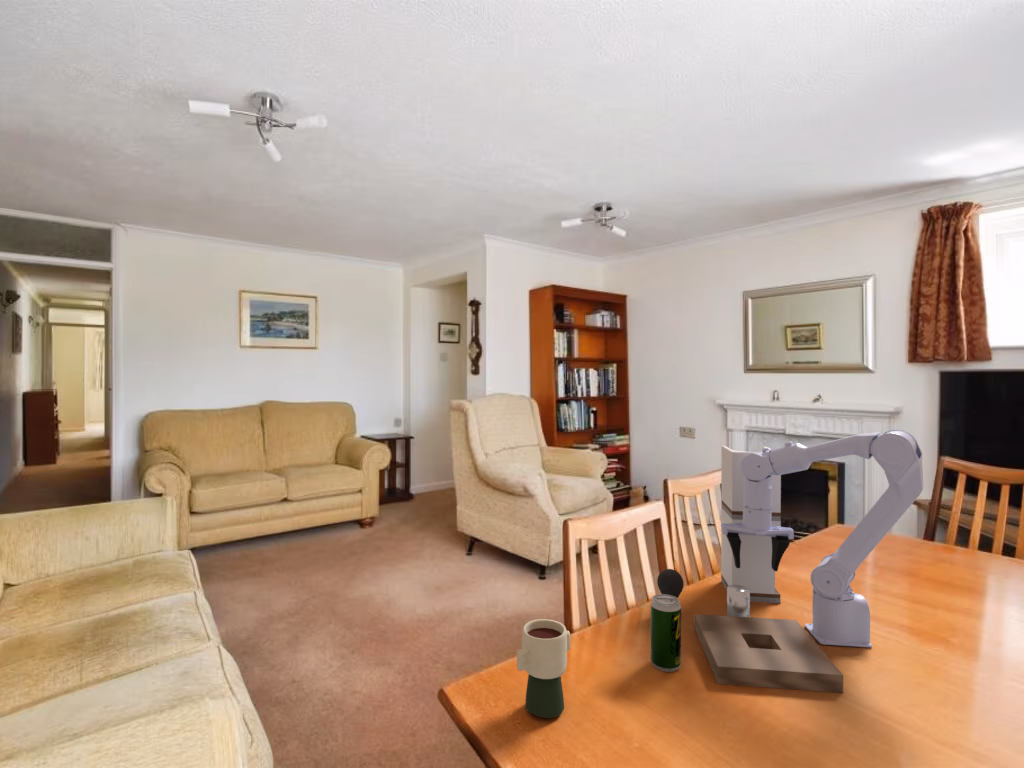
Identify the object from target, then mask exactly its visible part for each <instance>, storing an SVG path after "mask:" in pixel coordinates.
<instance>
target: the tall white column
mask: <svg viewBox="0 0 1024 768" xmlns="http://www.w3.org/2000/svg"><path fill="white" fill-rule="evenodd" d="M765 448H768V449H769V450H770V449H771V448H770V447H768V446H761V452H763V451H762V449H765ZM756 452H757V451H744V450H734V449H731V448H730V447H728V446H726V445H721V454H720V455H721V456H720V457H721V461H720V463H721V464H720V465H721V467H720V468H721V472H720V473H721V486H720V487H721V497H720V498H721V504H720V505H721V512H720V513H721V519H720V520H721V521H720V523H724V524H731V523H743V486H744V475H743V473H742V472H741V468H740V465H741V461H742V460H743V458H745V457H746V456H748V455H750V454H752V453H756ZM781 479H782V475H778V476H775V475H772V514H771V525H772V526H779V527H782V526H781V525H782V523H781V522H782V521H781V520H782V519H781V518H782V516H781V514H782V513H781V512H782V509H781V507H782V505H781V504H782V503H781V499H782V496H781V495H782V489H781V488H782V480H781ZM720 532H721V531H720ZM739 536H740V540H741V547H740V568H736V566H735V562H734V556H733V552H732V549H731V546H730V543H729V541H728V538H727V536H726V534H722V532H721V534H720V537H721V539H720V540H721V541H720V542H721V544H720V545H721V546H720V547H721V549H720V550H721V552H720V554H721V557H720V559H721V560H720V561H721V563H720V564H721V568H720V569H721V573H720V574H721V576H720V578H721V584H722V585H723V587H724V589H725V590H726V592H727V586H729V585H741V586H744V587H747V588H748V589H749V590H750V603H751V602H753V603H755V602H756V603H771V604H781V593H779V591H778V590H777V588H776V571H774V570H773V569H772V564H771V562H772V539H771V537H768V536H754V535H739Z"/></svg>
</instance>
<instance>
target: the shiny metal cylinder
mask: <svg viewBox="0 0 1024 768" xmlns="http://www.w3.org/2000/svg"><path fill="white" fill-rule="evenodd" d="M726 607H727V608H726V612H727V613H726V616H736V617H751V611H750V610H751V601H750V590H749V589H748V588H747V587H744V586H741V585H729V586H727V591H726Z"/></svg>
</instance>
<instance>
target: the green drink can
mask: <svg viewBox="0 0 1024 768" xmlns="http://www.w3.org/2000/svg"><path fill="white" fill-rule="evenodd" d="M680 602H681V601H680V599H679V597H678V598H676V597H674V596H671V595H666V594H660V593H659V594H655V595H653V596H652V597H651V602H650V661H651V664H652V666H653V667H654V668H655V669H657V670H658V671H662V672H666V673H671V672H677V671H678V670H679V669H680V666H681V664H682V605H681V603H680Z"/></svg>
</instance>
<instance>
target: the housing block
mask: <svg viewBox="0 0 1024 768" xmlns="http://www.w3.org/2000/svg"><path fill="white" fill-rule="evenodd" d="M693 629H694V631H695V633H696V635H697V638H698V641H699V642H700V645H701V647H702V649H703V652H704V654H705V656H706V659H707V662H708V663H709V666H710V669H711V670H712V672H713V675H714V677H715V680H716V682H717V684H719V685H731V686H744V687H745V686H746V687H759V688H770V689H771V688H773V689H782V690H783V689H785V690H799V691H810V692H811V691H813V692H823V693H824V692H826V693H836V694H837V693H838V694H839V693H841V694H843V693H844V674H843V673H842V672H841V670H839V669H838V667H837V666H836V665H835V664H834V662H833V661H832V660H831V659H830V658H829V656H828V655H827V654H826V653H825V652H824V650H823V649H821V648H820V646H819V645H818V644H817V643H816V642H815V640H814V639H813V638H812V637H811V635H810V634H809V633H808V632H807V631H806V630H805V628H804V627H803V626H802V625H801V624H800V623H799V621H798V620H797V619H786V618H785V619H784V618H769V617H766V618H765V617H754V616H753V617H751V616H750V617H736V616H727V615H716V614H715V615H713V614H700V613H699V614H697V613H695V614H694V628H693Z"/></svg>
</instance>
